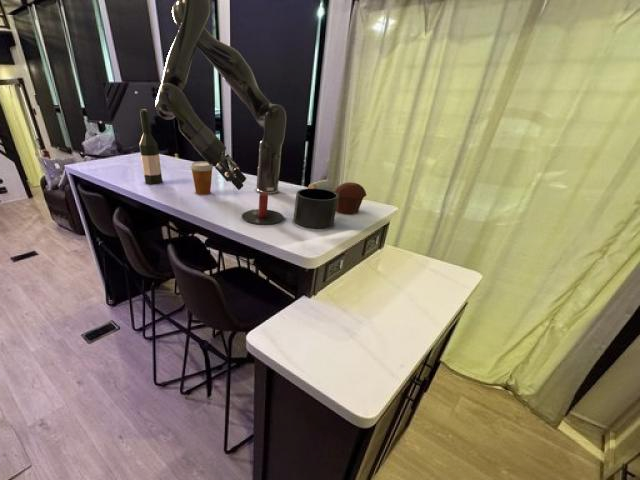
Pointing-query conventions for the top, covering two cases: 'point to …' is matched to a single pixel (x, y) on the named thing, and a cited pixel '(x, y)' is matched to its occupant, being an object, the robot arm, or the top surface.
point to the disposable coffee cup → (202, 177)
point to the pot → (315, 208)
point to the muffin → (349, 197)
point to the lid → (262, 213)
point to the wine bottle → (149, 153)
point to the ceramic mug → (322, 185)
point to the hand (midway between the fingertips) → (243, 184)
